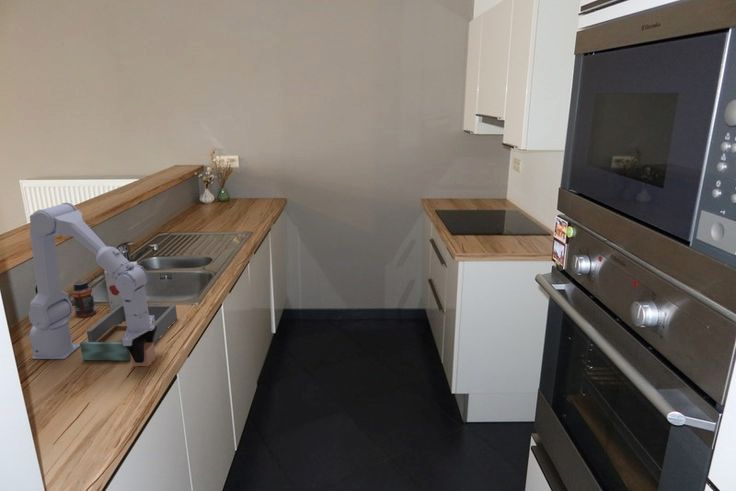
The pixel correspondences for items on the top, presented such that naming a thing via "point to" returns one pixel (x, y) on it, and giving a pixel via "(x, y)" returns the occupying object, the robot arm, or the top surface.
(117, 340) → the tray
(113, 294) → the supplement box
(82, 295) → the supplement bottle
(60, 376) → the top surface
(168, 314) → the organiser housing
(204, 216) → the top surface
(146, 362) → the terracotta block
